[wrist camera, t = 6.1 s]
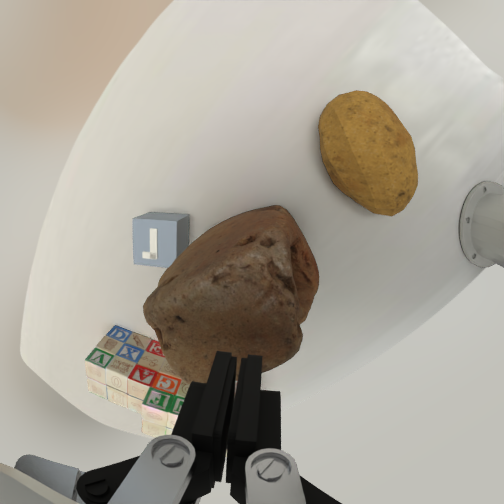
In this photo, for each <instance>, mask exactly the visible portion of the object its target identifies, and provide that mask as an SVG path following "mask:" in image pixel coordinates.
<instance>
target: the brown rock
mask: <svg viewBox="0 0 504 504" xmlns="http://www.w3.org/2000/svg"><path fill="white" fill-rule="evenodd" d="M318 285H319V272H318V267H317V264H316V261H315V258H314V256H313V254H312V252H311V250H310V247H309V246H308V243H307V241H306V239H305V237H304V235H303V234H302V232H301V230H300V228H299V227H298V225H297V223H296V222H295V220H294V219H293V217H292V216H291V215H290V213H289V212H288V211H287V210H286V209H285V208H283V207H281V206H278V205H273V206H269V207H264V208H260V209H255V210H251V211H248V212H245V213H242V214H239V215H237V216H234V217H232V218H230V219H228V220H225V221H223V222H221V223H219V224H218V225H216V226H214V227H212V228H211V229H209V230H208V231H206V232H205V233H204V234H202V235H201V236H200V237H199V238H198V239H196V240H195V241H194V242H193V243H192V244H191V245H189V246H188V247H187V248H186V249H185V250H184V251H183V252H182V253H181V254H180V255H179V256H178V257H177V258H176V259H175V260H174V262H173V263H172V265H171V266H170V267H168V268H167V270H166V271H165V273H164V274H163V275H162V277H161V278H160V280H159V282H158V287H157V288H156V289H155V290H154V291H153V292H152V294H151V295H150V296H149V297H148V298H147V300H146V301H145V303H144V305H143V313H144V316H145V319H146V321H147V323H148V324H149V325H150V326H151V327H152V328H153V329H154V330H155V332H156V335H157V338H158V340H159V343H160V346H161V350H162V352H163V354H164V356H165V358H166V360H167V362H168V364H169V366H170V368H171V369H172V370H173V371H174V372H176V373H177V374H178V375H179V376H180V378H181V379H182V380H183V381H184V382H186V383H188V384H189V385H190V384H191V382H192V381H194V382H200V383H206V384H207V380H208V377H209V374H210V371H211V367H212V364H213V361H214V358H215V355H216V352H217V351H224V352H232V356H233V357H237V367H236V381H237V380H238V375H239V370H240V364H241V358H247V357H248V354H250V355H260V356H263V357H262V373H263V372H266V371H269V370H271V369H273V368H275V367H277V366H279V365H281V364H283V363H285V362H286V361H288V360H289V359H291V358H292V357H293V356H294V355H295V354H296V353H297V352H298V351H299V349H300V345H301V342H302V337H303V334H302V330H301V328H300V326H299V325H300V324H301V323H302V322H304V321H305V320H306V318H307V315H308V312H309V310H310V309H311V305H312V303H313V299H314V296H315V294H316V293H317V290H318Z"/></svg>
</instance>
